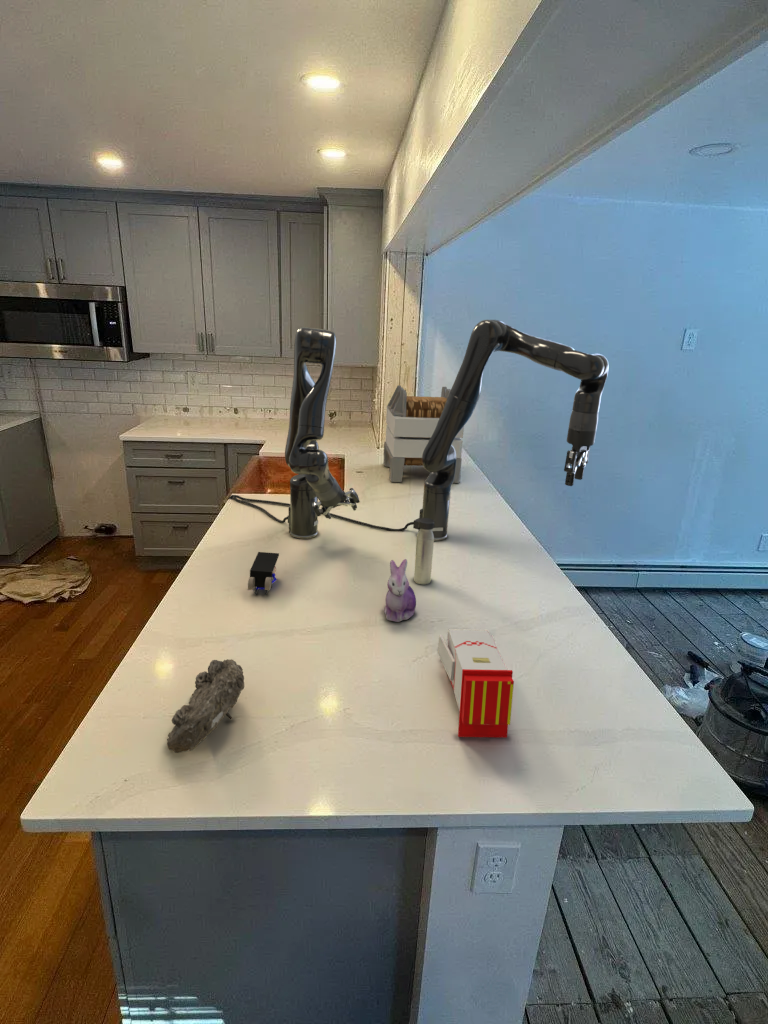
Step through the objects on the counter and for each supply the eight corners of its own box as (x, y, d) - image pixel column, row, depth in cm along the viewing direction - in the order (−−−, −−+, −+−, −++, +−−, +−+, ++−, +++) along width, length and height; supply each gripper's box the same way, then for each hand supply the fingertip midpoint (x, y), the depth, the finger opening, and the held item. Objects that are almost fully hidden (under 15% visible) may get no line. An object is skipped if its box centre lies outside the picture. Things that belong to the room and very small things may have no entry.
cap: (418, 529, 158) (418, 523, 158) (418, 523, 163) (418, 517, 162) (434, 530, 158) (434, 524, 158) (433, 524, 163) (434, 518, 162)
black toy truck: (272, 602, 153) (280, 572, 166) (271, 579, 149) (279, 550, 163) (247, 602, 152) (257, 572, 166) (245, 578, 149) (256, 549, 162)
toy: (488, 613, 130) (523, 677, 101) (484, 667, 133) (517, 744, 104) (435, 612, 130) (455, 676, 101) (432, 666, 133) (451, 743, 103)
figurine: (392, 627, 141) (395, 572, 136) (374, 608, 149) (376, 556, 144) (425, 619, 145) (429, 566, 140) (405, 601, 154) (408, 550, 149)
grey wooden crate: (382, 463, 289) (386, 382, 275) (445, 464, 293) (451, 384, 279) (390, 482, 257) (394, 392, 243) (460, 483, 261) (468, 394, 247)
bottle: (413, 583, 164) (417, 524, 158) (413, 576, 169) (417, 518, 162) (430, 585, 164) (435, 525, 158) (430, 577, 168) (434, 519, 162)
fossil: (192, 660, 117) (244, 628, 112) (224, 691, 120) (276, 661, 115) (142, 746, 98) (202, 712, 93) (182, 779, 101) (242, 748, 96)
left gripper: (346, 471, 170) (360, 495, 185) (302, 486, 171) (319, 509, 186) (352, 492, 167) (365, 515, 181) (306, 507, 168) (323, 529, 182)
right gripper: (577, 422, 167) (568, 474, 173) (561, 428, 156) (552, 484, 162) (603, 425, 163) (593, 479, 169) (588, 433, 152) (578, 490, 158)
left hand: (342, 512), depth 183 cm, fingers open, 8 cm apart
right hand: (573, 482), depth 165 cm, fingers open, 8 cm apart
